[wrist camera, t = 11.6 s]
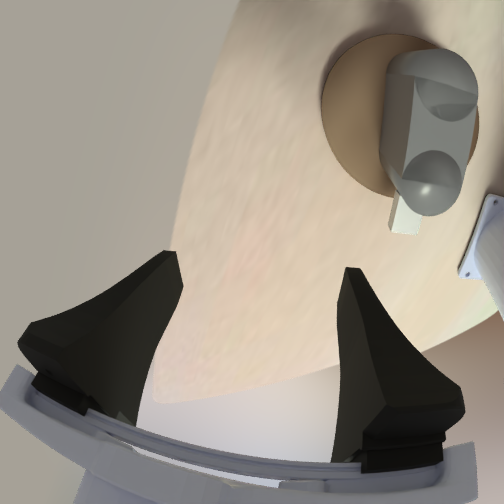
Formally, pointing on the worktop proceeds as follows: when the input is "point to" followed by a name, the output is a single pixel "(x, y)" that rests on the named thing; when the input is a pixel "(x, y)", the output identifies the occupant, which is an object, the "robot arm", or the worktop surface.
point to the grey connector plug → (426, 133)
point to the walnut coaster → (365, 107)
